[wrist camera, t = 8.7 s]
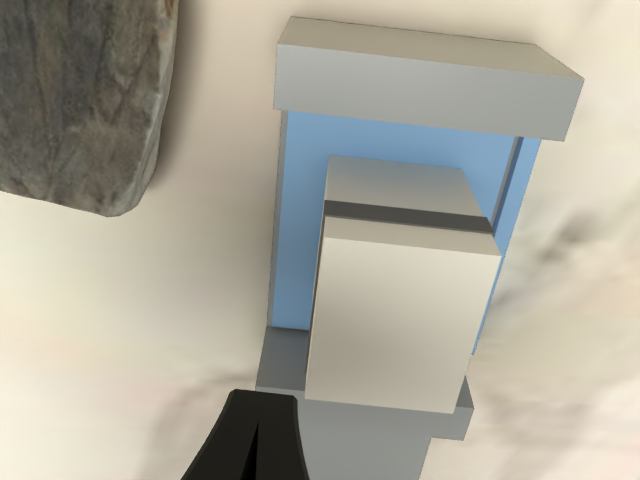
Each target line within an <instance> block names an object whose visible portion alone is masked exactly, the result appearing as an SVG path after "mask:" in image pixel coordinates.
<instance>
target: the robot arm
mask: <svg viewBox="0 0 640 480" xmlns="http://www.w3.org/2000/svg"><path fill="white" fill-rule="evenodd" d="M181 480H310V478H309V474H308V471H307V467H306V462H305V458H304V453H303V448H302V442H301V437H300V430H299V421H298V400H297V399H296V398H295V397H294V396H293V395H286V394H277V393H268V392H259V391H249V390H240V389H235V390H233V391H231V392H230V393H229V396H228V398H227V401H226V403H225V405H224V407H223V410H222V412H221V414H220V416H219V418H218V420H217V421H216V423H215V425H214V427H213V429H212V430H211V432H210V434H209V436H208V437H207V439H206V441H205V443H204V444H203V446H202V447H201V449H200V450H199V452H198V454H197V455H196V457H195V458H194V460H193V462H192V463H191V465H190V466H189V468H188V469H187V471H186V472H185V474H184V475H183V477H182V478H181Z"/></svg>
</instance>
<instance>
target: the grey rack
mask: <svg viewBox="0 0 640 480" xmlns="http://www.w3.org/2000/svg"><path fill="white" fill-rule="evenodd" d="M584 80H585V79H584V78H583V77H581V76H580V75H578V74H577V73H576V72H574V71H573V70H571V69H570V68H568V67H567V66H565V65H564V64H563V63H561V62H560V61H558V60H557V59H555V58H554V57H553V56H551V55H550V54H548V53H547V52H545V51H544V50H542V49H541V48H540V47H538V46H537V45H532V44H524V43H515V42H507V41H498V40H489V39H481V38H472V37H464V36H455V35H446V34H438V33H429V32H421V31H412V30H403V29H395V28H386V27H378V26H369V25H360V24H352V23H343V22H334V21H326V20H317V19H309V18H300V17H290V19H289V21H288V23H287V25H286V27H285V29H284V31H283V33H282V35H281V37H280V39H279V41H278V43H277V57H276V73H275V89H274V104H273V109H279V110H282V119H281V133H280V147H279V161H278V175H277V189H276V202H275V216H274V230H273V244H272V258H271V272H270V286H269V300H268V313H267V327H266V332H265V337H264V343H263V348H262V354H261V359H260V364H259V370H258V375H257V381H256V386H255V391H259V392H268V393H277V394H286V395H293V396H294V397H295V398H296V399H297V400H298V421H299V430H300V437H301V442H302V448H303V453H304V458H305V462H306V467H307V471H308V474H309V478H310V480H419V477H420V474H421V470H422V467H423V463H424V460H425V457H426V453H427V450H428V446H429V443H430V439H431V437H432V438H442V439H452V440H462V441H463V440H464V437H465V434H466V431H467V428H468V425H469V422H470V419H471V416H472V413H473V410H474V406H473V402H472V398H471V395H470V391H469V387H468V383H467V379H466V376H465V377H464V380H463V383H462V386H461V390H460V393H459V396H458V399H457V403H456V406H455V409H454V412H453V414H449V413H439V412H429V411H419V410H409V409H399V408H389V407H379V406H369V405H359V404H349V403H340V402H330V401H320V400H310V399H305V387H306V375H307V374H305V365H306V353H307V345H308V337H309V328H310V320H311V311H312V300H313V288H314V280H315V271H316V263H317V254H318V246H319V237H320V229H321V220H322V212H323V203H324V195H325V186H326V178H327V169H328V160H329V154H330V155H340V156H349V157H358V158H367V159H376V160H385V161H394V162H403V163H413V164H422V165H431V166H440V167H449V168H458V169H462V171H463V173H464V175H465V177H466V179H467V182H468V184H469V186H470V188H471V190H472V192H473V195H474V197H475V199H476V201H477V203H478V206H479V208H480V210H481V212H482V214H483V216H484V217H487V218H488V220H489V223H490V225H491V227H492V229H493V231H494V235H493V238H494V240H495V243H496V245H497V247H498V249H499V251H500V254H501V256H502V257H501V260H500V264H499V267H498V270H497V273H496V276H495V280H494V283H493V286H492V289H491V293H490V296H489V299H488V302H487V306H486V309H485V312H484V315H483V319H482V322H481V325H480V328H479V331H478V335H477V338H476V341H475V344H474V348H473V351H472V354H471V355H474V352H475V349H476V346H477V343H478V339H479V336H480V333H481V330H482V327H483V323H484V320H485V317H486V314H487V311H488V308H489V304H490V301H491V298H492V295H493V292H494V288H495V285H496V282H497V279H498V276H499V273H500V269H501V266H502V263H503V260H504V257H505V253H506V250H507V247H508V244H509V241H510V238H511V234H512V231H513V228H514V225H515V222H516V219H517V215H518V212H519V209H520V206H521V203H522V199H523V196H524V193H525V190H526V187H527V184H528V180H529V177H530V174H531V171H532V168H533V164H534V161H535V158H536V155H537V152H538V149H539V145H540V142H541V139H545V140H554V141H563V142H564V140H565V137H566V134H567V131H568V128H569V125H570V122H571V119H572V116H573V113H574V110H575V107H576V104H577V101H578V98H579V95H580V92H581V89H582V86H583V83H584Z"/></svg>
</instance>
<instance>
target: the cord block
mask: <svg viewBox="0 0 640 480" xmlns="http://www.w3.org/2000/svg"><path fill="white" fill-rule="evenodd" d="M493 235H494V231H493V229H492V227H491V225H490V223H489V220H488V218H487V217H484V216H483V214H482V212H481V210H480V208H479V206H478V203H477V201H476V199H475V197H474V195H473V192H472V190H471V188H470V186H469V184H468V182H467V179H466V177H465V175H464V173H463V171H462V169H458V168H449V167H440V166H431V165H422V164H413V163H403V162H394V161H385V160H376V159H367V158H358V157H349V156H340V155H330V154H329V160H328V169H327V178H326V186H325V195H324V203H323V212H322V220H321V229H320V237H319V246H318V254H317V263H316V271H315V280H314V288H313V300H312V311H311V320H310V328H309V337H308V345H307V353H306V365H305V374H307V375H306V387H305V399H310V400H320V401H330V402H340V403H349V404H359V405H369V406H379V407H389V408H399V409H409V410H419V411H429V412H439V413H449V414H453V412H454V409H455V406H456V403H457V399H458V396H459V393H460V390H461V386H462V383H463V380H464V377H465V373H466V370H467V367H468V364H469V361H470V357H471V354H472V351H473V348H474V344H475V341H476V338H477V335H478V331H479V328H480V325H481V322H482V319H483V315H484V312H485V309H486V306H487V302H488V299H489V296H490V293H491V289H492V286H493V283H494V280H495V276H496V273H497V270H498V267H499V264H500V260H501V257H502V256H501V254H500V251H499V249H498V247H497V245H496V243H495V240H494V238H493Z"/></svg>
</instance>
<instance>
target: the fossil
mask: <svg viewBox="0 0 640 480" xmlns="http://www.w3.org/2000/svg"><path fill="white" fill-rule="evenodd" d="M178 5H179V0H0V191H3V192H7V193H11V194H15V195H19V196H23V197H28V198H33V199H38V200H43V201H48V202H52V203H55V204H59V205H63V206H66V207H70V208H74V209H78V210H83V211H88V212H92V213H95V214H99V215H102V216H105V217H114V216H120V215H122V214H124V213H126V212H128V211H130V210H132V209H133V208H134V207H136V206H137V205H138V203H139V202H140V200H141V198H142V196H143V194H144V192H145V190H146V188H147V185H148V183H149V181H150V179H151V176H152V174H153V172H154V170H155V166H156V162H157V157H158V151H159V141H160V131H161V124H162V120H163V116H164V112H165V108H166V104H167V100H168V96H169V92H170V85H171V79H172V72H173V65H174V55H175V46H176V36H177V19H178Z"/></svg>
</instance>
